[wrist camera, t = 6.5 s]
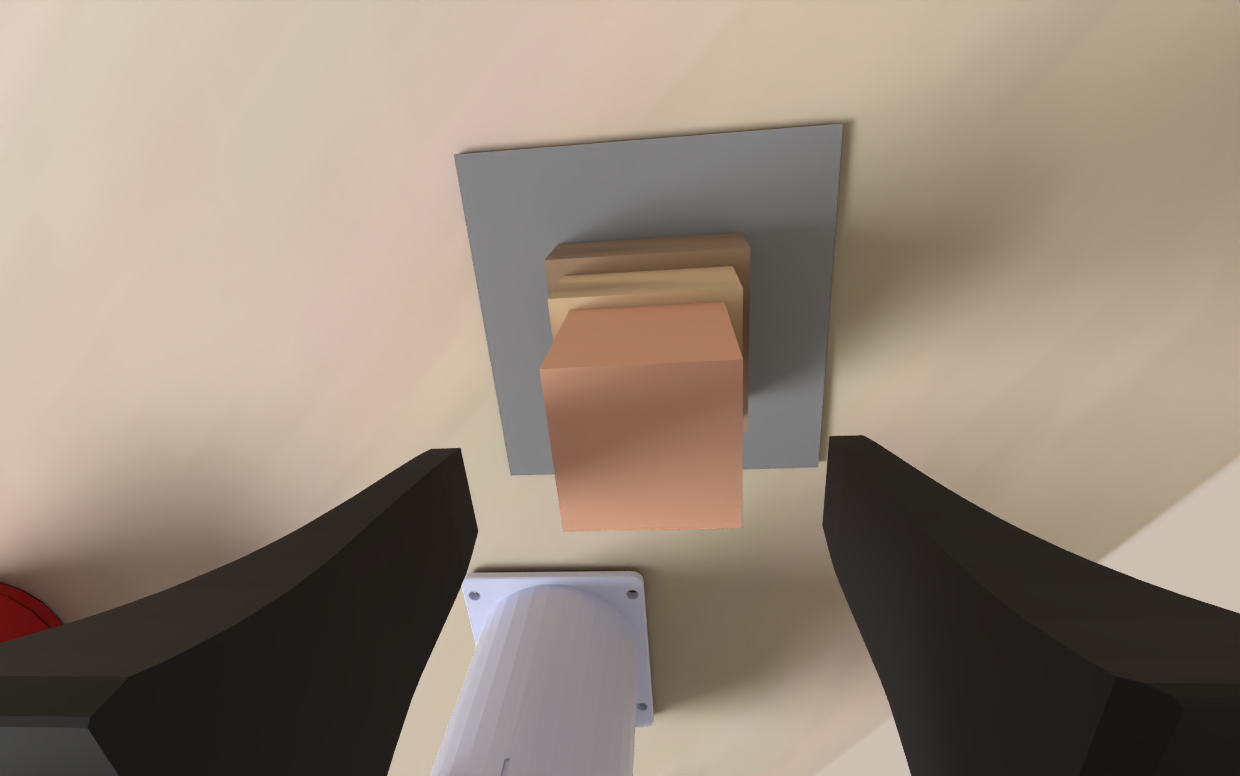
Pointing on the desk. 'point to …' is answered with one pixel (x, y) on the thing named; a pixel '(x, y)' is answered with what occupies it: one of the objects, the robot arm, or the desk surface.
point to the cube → (646, 418)
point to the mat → (652, 208)
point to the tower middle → (649, 292)
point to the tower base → (660, 267)
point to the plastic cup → (22, 614)
